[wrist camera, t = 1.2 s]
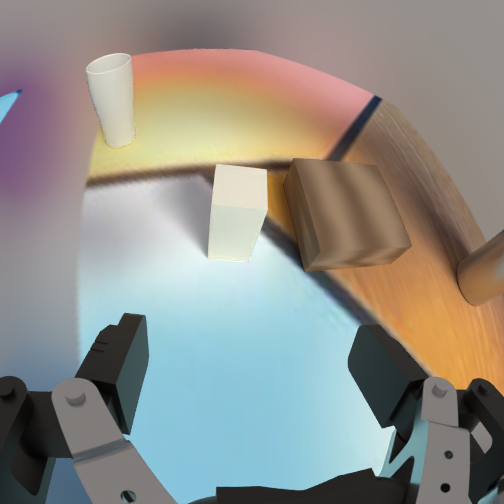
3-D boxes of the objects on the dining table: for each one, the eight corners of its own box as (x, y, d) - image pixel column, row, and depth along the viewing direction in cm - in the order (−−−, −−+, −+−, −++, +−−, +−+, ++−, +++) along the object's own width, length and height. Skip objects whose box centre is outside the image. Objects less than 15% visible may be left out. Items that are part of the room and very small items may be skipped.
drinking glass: (121, 122, 43) (111, 50, 30) (148, 134, 43) (142, 56, 30) (94, 145, 40) (76, 70, 27) (120, 158, 40) (104, 76, 26)
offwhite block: (249, 227, 37) (266, 169, 28) (248, 262, 35) (267, 210, 26) (210, 223, 37) (216, 164, 27) (207, 258, 34) (211, 204, 25)
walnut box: (360, 189, 45) (377, 165, 40) (388, 265, 39) (412, 246, 34) (282, 186, 42) (293, 158, 37) (303, 272, 36) (320, 251, 31)
